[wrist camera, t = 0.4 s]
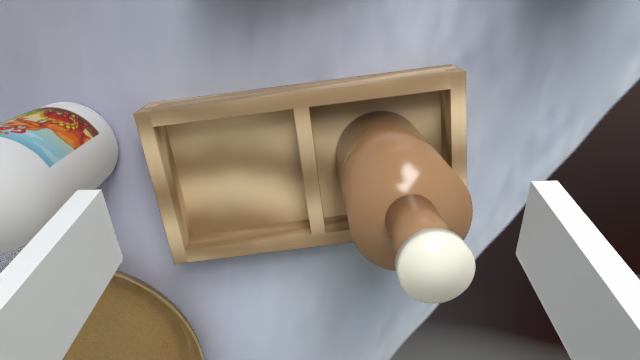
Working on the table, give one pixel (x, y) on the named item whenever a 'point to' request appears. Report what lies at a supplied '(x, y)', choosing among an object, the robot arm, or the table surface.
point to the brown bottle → (406, 206)
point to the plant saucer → (134, 326)
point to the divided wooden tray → (281, 157)
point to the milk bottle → (49, 165)
